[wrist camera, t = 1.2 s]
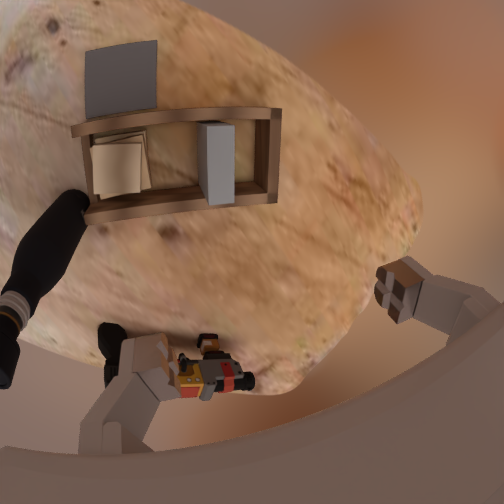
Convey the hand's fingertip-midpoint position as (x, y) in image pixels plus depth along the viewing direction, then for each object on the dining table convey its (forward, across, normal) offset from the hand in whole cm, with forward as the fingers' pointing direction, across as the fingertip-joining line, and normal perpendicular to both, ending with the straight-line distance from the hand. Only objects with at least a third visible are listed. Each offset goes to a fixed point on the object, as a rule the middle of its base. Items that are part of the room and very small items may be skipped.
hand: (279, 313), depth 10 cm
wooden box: (+33, +3, -1) cm, 33 cm away
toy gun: (+34, +14, +31) cm, 48 cm away
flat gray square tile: (+32, +9, -14) cm, 37 cm away
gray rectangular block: (+33, -1, 0) cm, 33 cm away
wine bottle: (+33, +21, +2) cm, 39 cm away
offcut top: (+28, +11, -3) cm, 30 cm away
